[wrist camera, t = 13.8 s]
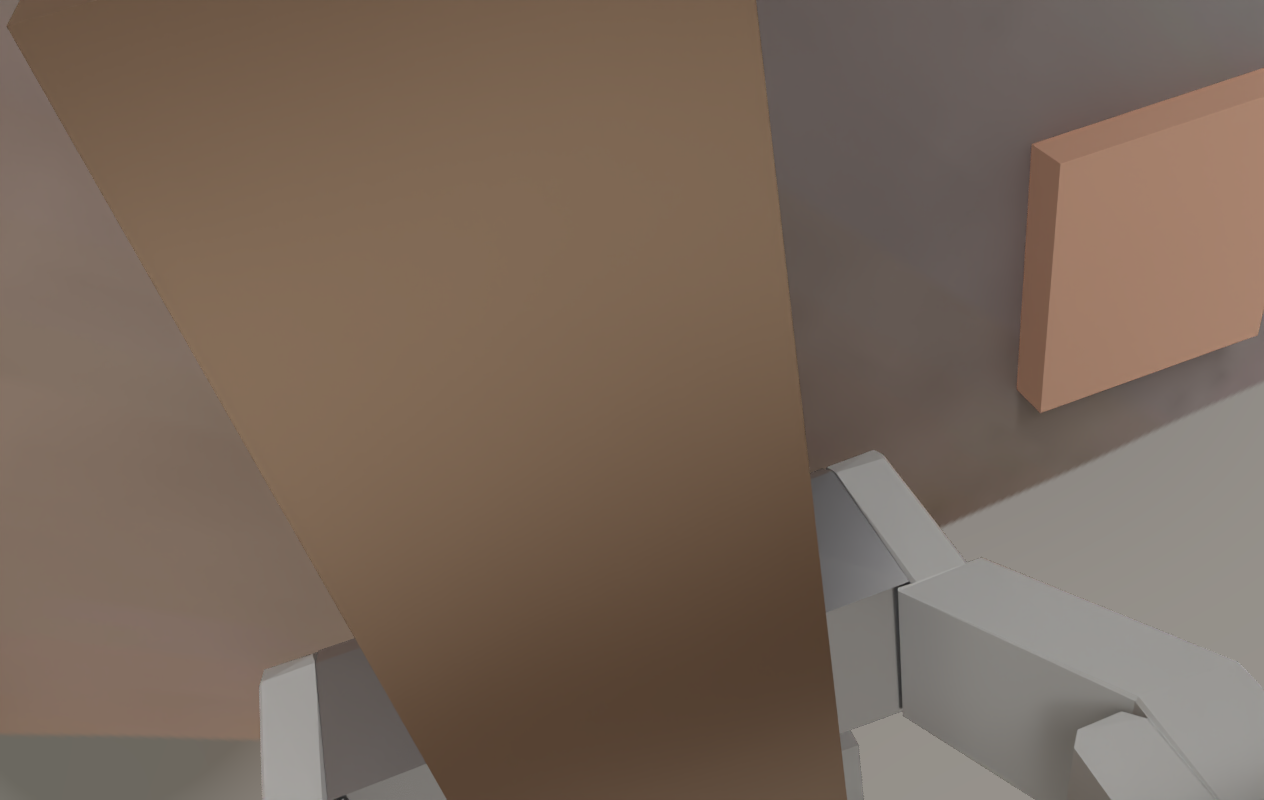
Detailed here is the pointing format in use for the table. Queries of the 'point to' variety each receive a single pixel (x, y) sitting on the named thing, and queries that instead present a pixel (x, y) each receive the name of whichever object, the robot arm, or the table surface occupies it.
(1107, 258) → the tile
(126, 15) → the turner
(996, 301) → the table surface
